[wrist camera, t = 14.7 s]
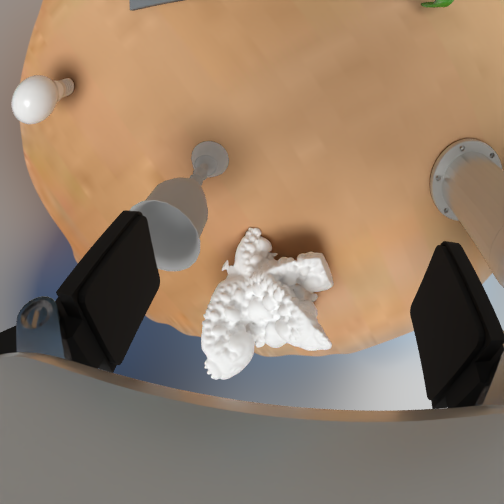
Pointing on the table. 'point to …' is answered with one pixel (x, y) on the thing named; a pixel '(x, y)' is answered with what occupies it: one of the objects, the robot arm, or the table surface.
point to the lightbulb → (38, 97)
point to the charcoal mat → (148, 3)
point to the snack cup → (437, 3)
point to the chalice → (182, 209)
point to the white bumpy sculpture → (263, 306)
